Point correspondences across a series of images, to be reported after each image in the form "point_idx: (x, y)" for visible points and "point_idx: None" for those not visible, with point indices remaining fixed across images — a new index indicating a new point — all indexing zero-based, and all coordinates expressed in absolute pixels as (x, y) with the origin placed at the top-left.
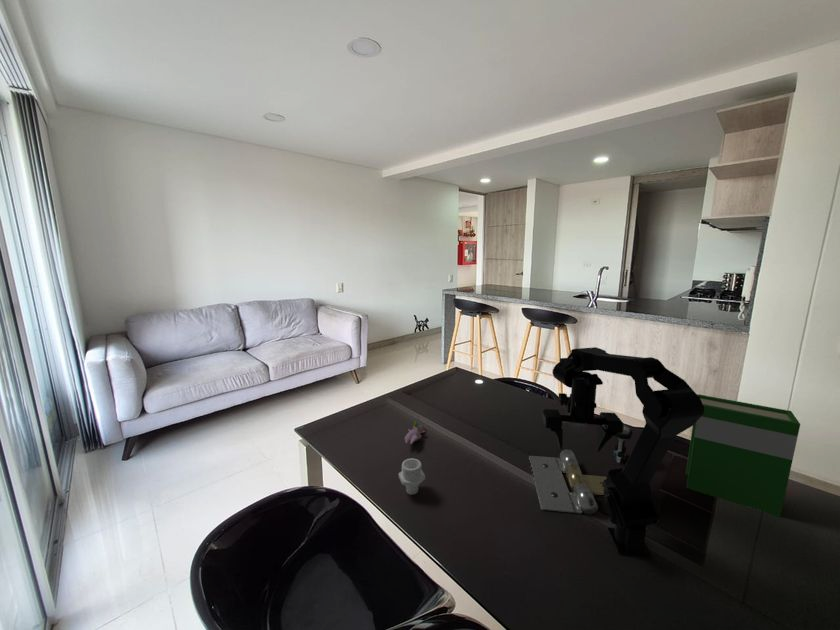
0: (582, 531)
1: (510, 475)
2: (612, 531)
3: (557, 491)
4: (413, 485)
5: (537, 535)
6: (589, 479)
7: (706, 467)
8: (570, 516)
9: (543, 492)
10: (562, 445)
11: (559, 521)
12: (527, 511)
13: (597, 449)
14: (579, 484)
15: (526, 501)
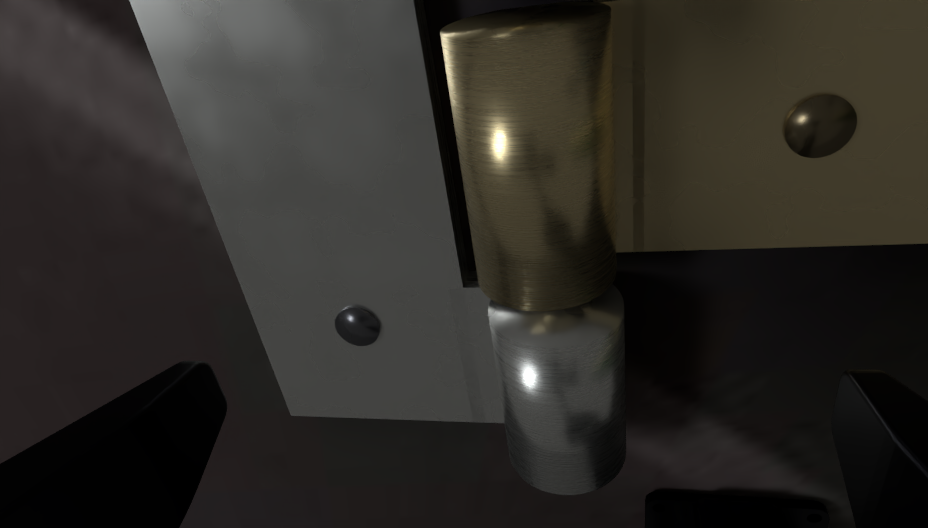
0: (508, 497)
1: (34, 124)
2: (665, 518)
3: (378, 291)
4: None
5: (306, 518)
6: (694, 73)
7: None
8: (459, 424)
9: (286, 315)
10: (186, 511)
11: (399, 455)
12: (237, 412)
13: (848, 481)
14: (523, 355)
15: (214, 351)
